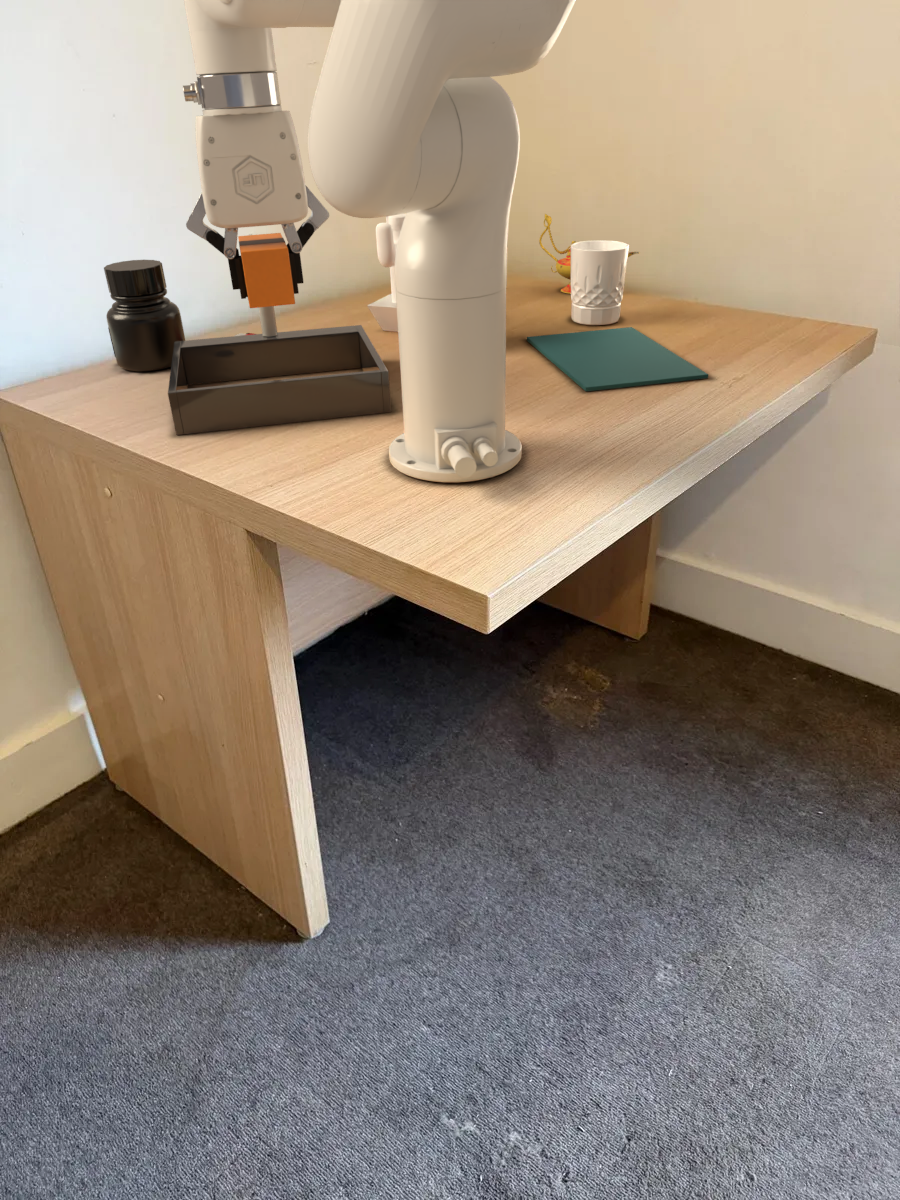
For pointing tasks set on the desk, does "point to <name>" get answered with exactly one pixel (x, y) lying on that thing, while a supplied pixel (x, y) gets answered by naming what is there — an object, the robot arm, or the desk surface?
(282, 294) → the orange striped block
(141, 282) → the ink bottle
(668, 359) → the mat
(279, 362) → the sink basin
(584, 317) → the white cup
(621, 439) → the desk surface
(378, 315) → the figurine
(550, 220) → the magic lamp
